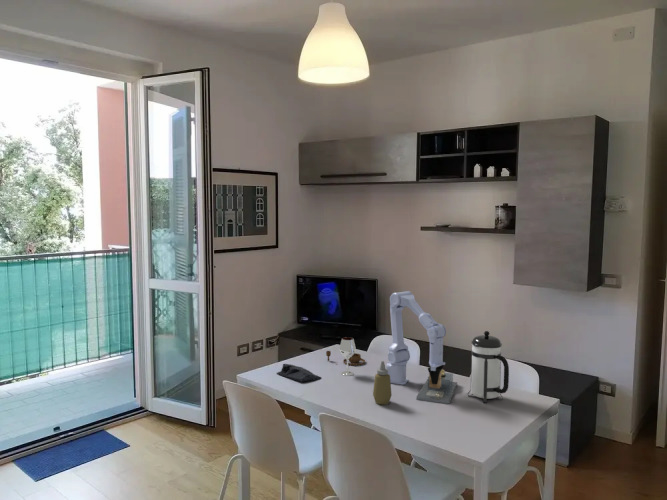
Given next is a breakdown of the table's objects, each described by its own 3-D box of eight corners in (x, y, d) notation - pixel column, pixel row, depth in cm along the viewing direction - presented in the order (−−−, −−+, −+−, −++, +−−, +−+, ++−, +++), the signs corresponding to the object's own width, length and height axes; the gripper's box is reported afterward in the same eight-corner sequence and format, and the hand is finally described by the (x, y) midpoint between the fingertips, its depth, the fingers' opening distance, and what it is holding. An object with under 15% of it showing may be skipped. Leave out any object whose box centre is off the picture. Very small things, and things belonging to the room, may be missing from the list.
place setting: (352, 369, 262) (352, 358, 262) (324, 362, 275) (324, 351, 275) (372, 362, 275) (372, 351, 275) (344, 355, 288) (344, 345, 288)
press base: (416, 399, 219) (416, 387, 218) (427, 381, 243) (427, 370, 243) (448, 404, 214) (449, 392, 213) (457, 384, 238) (457, 374, 238)
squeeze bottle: (379, 407, 210) (379, 365, 208) (369, 400, 217) (369, 360, 216) (395, 404, 214) (395, 362, 212) (384, 397, 221) (385, 357, 219)
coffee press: (465, 402, 216) (467, 333, 214) (469, 390, 231) (471, 326, 229) (507, 407, 210) (509, 337, 208) (509, 395, 225) (511, 329, 223)
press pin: (436, 377, 235) (436, 370, 234) (437, 375, 238) (437, 368, 238) (443, 378, 233) (444, 371, 233) (445, 376, 237) (445, 369, 236)
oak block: (429, 387, 221) (429, 372, 221) (431, 384, 225) (431, 369, 225) (439, 388, 220) (439, 374, 219) (441, 385, 224) (441, 371, 223)
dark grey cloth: (298, 385, 237) (298, 376, 237) (274, 374, 254) (274, 364, 254) (324, 379, 246) (324, 370, 246) (299, 368, 264) (299, 359, 263)
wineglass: (358, 372, 255) (358, 338, 254) (350, 377, 248) (350, 341, 247) (344, 370, 259) (344, 336, 258) (336, 374, 253) (336, 339, 251)
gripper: (442, 357, 213) (442, 388, 214) (447, 349, 227) (447, 378, 228) (426, 355, 216) (425, 386, 217) (432, 347, 229) (431, 376, 230)
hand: (435, 382), depth 222 cm, fingers closed on oak block, 4 cm apart
